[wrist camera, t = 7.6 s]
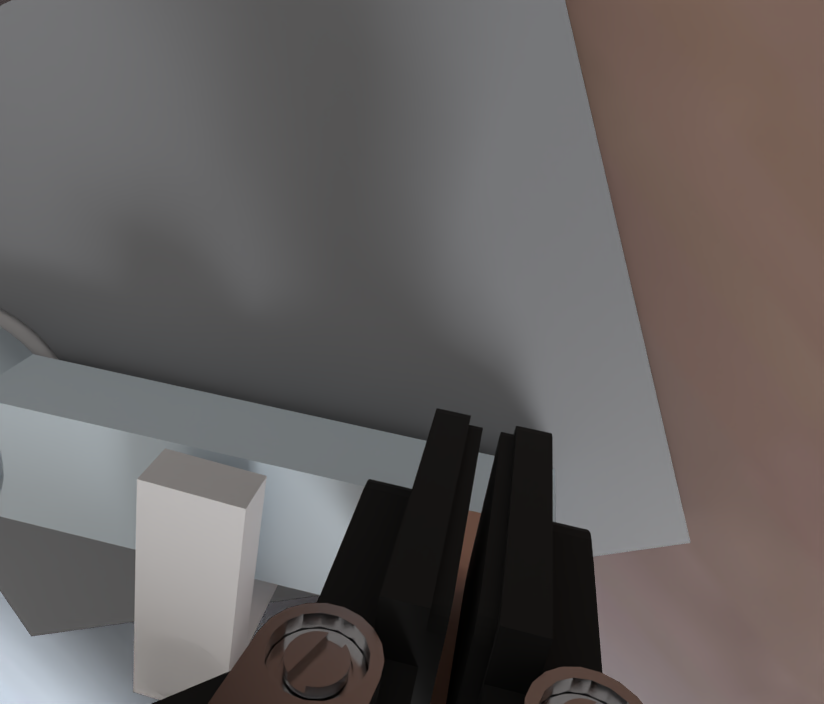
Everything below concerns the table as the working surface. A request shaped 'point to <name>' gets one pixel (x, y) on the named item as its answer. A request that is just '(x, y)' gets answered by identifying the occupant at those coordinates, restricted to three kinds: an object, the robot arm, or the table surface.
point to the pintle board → (311, 270)
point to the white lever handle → (205, 438)
